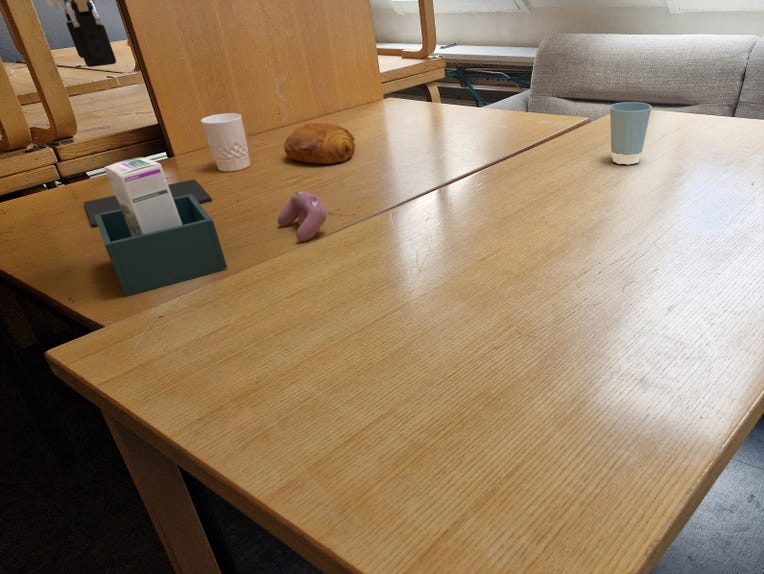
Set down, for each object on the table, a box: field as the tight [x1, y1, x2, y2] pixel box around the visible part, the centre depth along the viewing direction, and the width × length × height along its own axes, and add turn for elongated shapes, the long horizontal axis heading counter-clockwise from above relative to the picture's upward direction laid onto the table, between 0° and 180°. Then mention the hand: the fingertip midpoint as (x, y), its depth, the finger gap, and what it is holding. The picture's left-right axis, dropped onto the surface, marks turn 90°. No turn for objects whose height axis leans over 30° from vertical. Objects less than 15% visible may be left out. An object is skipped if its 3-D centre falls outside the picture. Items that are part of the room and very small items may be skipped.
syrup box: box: [104, 156, 182, 237], centre depth 86 cm, size 6×6×14 cm
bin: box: [94, 194, 228, 297], centre depth 89 cm, size 14×14×8 cm
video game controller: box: [277, 191, 328, 243], centre depth 99 cm, size 10×5×7 cm, turn 35°
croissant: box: [283, 122, 356, 165], centre depth 133 cm, size 14×16×8 cm
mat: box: [83, 178, 213, 228], centre depth 114 cm, size 20×14×1 cm
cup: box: [609, 101, 652, 155], centre depth 120 cm, size 8×8×10 cm
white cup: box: [200, 113, 252, 173], centre depth 128 cm, size 8×8×10 cm
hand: (97, 60), depth 75 cm, fingers open, 9 cm apart
